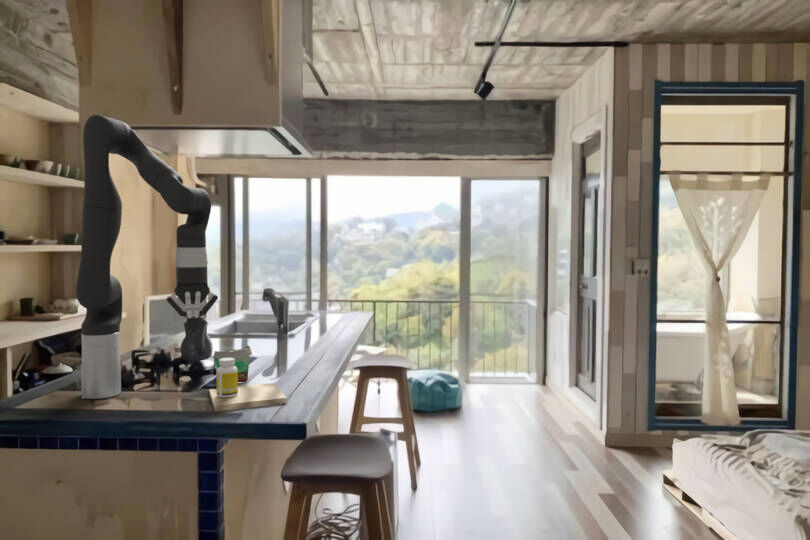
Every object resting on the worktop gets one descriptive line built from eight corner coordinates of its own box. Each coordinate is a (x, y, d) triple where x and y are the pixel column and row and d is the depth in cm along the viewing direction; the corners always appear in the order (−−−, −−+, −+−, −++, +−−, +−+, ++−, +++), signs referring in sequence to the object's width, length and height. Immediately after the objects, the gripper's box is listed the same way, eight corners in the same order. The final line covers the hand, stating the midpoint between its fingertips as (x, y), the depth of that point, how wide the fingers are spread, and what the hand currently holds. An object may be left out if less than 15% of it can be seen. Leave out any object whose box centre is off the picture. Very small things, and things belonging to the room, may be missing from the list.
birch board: (215, 411, 140) (215, 405, 140) (209, 394, 155) (209, 389, 155) (286, 403, 148) (286, 397, 148) (274, 388, 162) (274, 383, 162)
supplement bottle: (242, 394, 151) (241, 358, 150) (227, 399, 146) (227, 362, 145) (226, 391, 153) (226, 356, 152) (212, 396, 148) (211, 360, 148)
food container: (226, 388, 162) (225, 354, 161) (213, 384, 166) (213, 351, 165) (260, 379, 172) (260, 347, 171) (247, 376, 175) (247, 345, 175)
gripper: (217, 264, 150) (218, 328, 151) (163, 264, 144) (165, 331, 145) (220, 265, 143) (221, 332, 144) (164, 266, 138) (165, 336, 139)
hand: (193, 331), depth 145 cm, fingers closed
